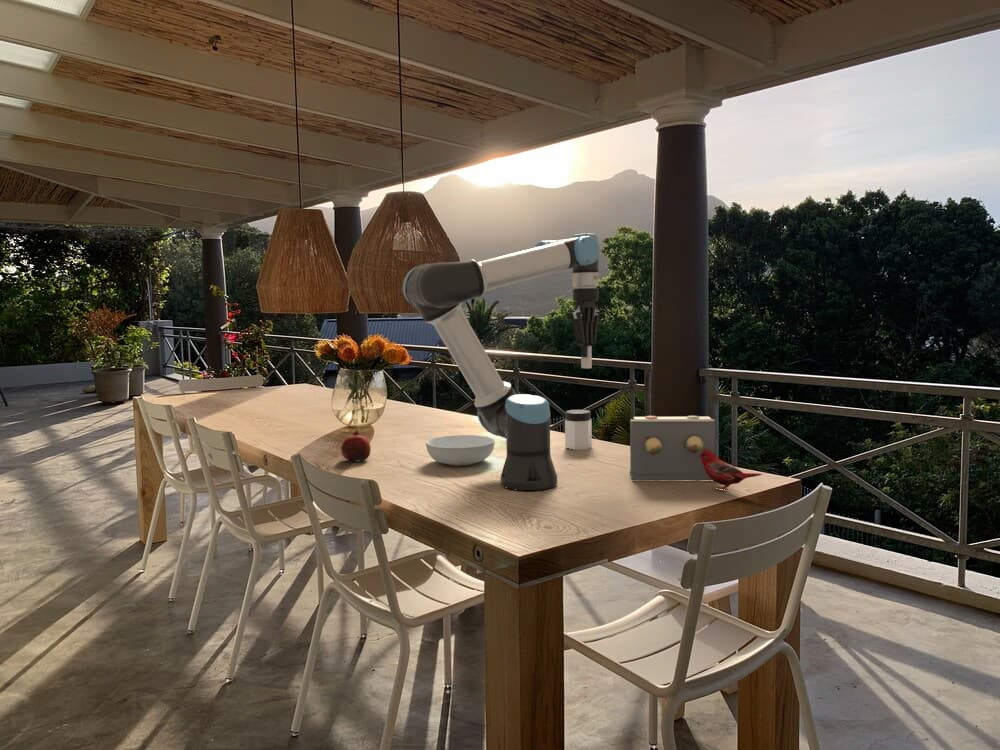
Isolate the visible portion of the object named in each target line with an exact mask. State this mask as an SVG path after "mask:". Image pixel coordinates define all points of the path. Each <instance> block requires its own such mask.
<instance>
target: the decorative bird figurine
mask: <svg viewBox="0 0 1000 750" xmlns="http://www.w3.org/2000/svg"><path fill="white" fill-rule="evenodd" d="M698 457H700V458H701V460H702V463H703V466H704V469H705V471H706V473H707V475H708V476H709V477H710V478H711V479H712V480H713V481H712V482H714V483H716V484H719V485H722V486H721V487H719V486H717V487H716V486H713V487H714V489H716V488H718V489H723V490H724V489H725V490H727V491H728V490H729V488H728V487H730V486H731V485H736V484H740V483H741V482H742V481H744V480H745V479H747V478H749V479H750V478H753V477H754V478H755V477H758V476H761V475H762V473H758V472H757V473H753V472H750V473H749V472H743V471H741V470H740V469H738V468H737V467H735V466H734V465H732V464H730V463H727V462H725V461H723V460H722V459H720V458H719V457H718V456H717V455H716V454H714V453H713V452H711V451H710V450H708V449H705V450H703V451H702V453H701V454H700V455H699V456H698ZM723 490H722V491H723Z"/></svg>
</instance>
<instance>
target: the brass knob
mask: <svg viewBox="0 0 1000 750" xmlns="http://www.w3.org/2000/svg"><path fill="white" fill-rule="evenodd" d="M644 446H645V449H646V451H647V452H648V453H649V454H652V455H655V454H658V453H659V452H660V451H661V449H662V444H661V442H660V440H659V439H658V438H657V437H646V441H645V444H644Z"/></svg>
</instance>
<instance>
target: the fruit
mask: <svg viewBox="0 0 1000 750" xmlns="http://www.w3.org/2000/svg"><path fill="white" fill-rule="evenodd" d="M340 449H341V455H342V456H343V458H344V459H345V460H348V461H352V462H355V461H360V462H363V461H365V460H367V459H368V458H369V457H370V455H371V443H370V441H369V439H368V438H367V437H365V436H363V435H360V432H359V431H358V429H357V428H356V429H355V430H353V433H352V434H351V435H349V436H347V437H346V438H345V439H344V440H343V442H342V444H341V447H340Z"/></svg>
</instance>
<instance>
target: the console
mask: <svg viewBox="0 0 1000 750" xmlns="http://www.w3.org/2000/svg"><path fill="white" fill-rule="evenodd" d="M629 421H630V422H629V424H630V426H629V429H630V430H629V431H630V432H629V433H630V434H629V437H630V438H629V440H630V442H629V443H630V445H629V447H630V448H629V449H630V450H629V452H630V453H629V455H630V456H629V457H630V458H629V459H630V463H629V464H630V468H629V477H630V476H631V477H630V480H712V479H711V478H710V477H709V476H708V475H707V473H706V471H705V469H704V466H703V463H702V460H701V458H700V457H698V456H699V455H700V454H701V453H702V451H703V450H705V449H708V450H710V451H711V452H713V453H714V454H715V453H716V451H715V445H716V444H715V441H716V440H715V439H716V437H715V436H716V421H715V419H714V418H711V417H710V416H709V415H707V416H699V415H687V416H656V415H646V416H633V419H629ZM691 435H696V436H698V437H700V438H701V439H702V441H703V448H702V449H701V450H700V451H699V452H696V453H693V452H690V451H689V450H688V449H687V447H686V445H685V442H686V439H687V437H689V436H691ZM646 437H657V438H658V439H659V440H660V442H661V444H662V449H661V451H660V452H659V453H658V454H655V455H652V454H649V453H648V452H647V451H646V449H645V446H644V444H645V441H646ZM715 455H716V454H715Z"/></svg>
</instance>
